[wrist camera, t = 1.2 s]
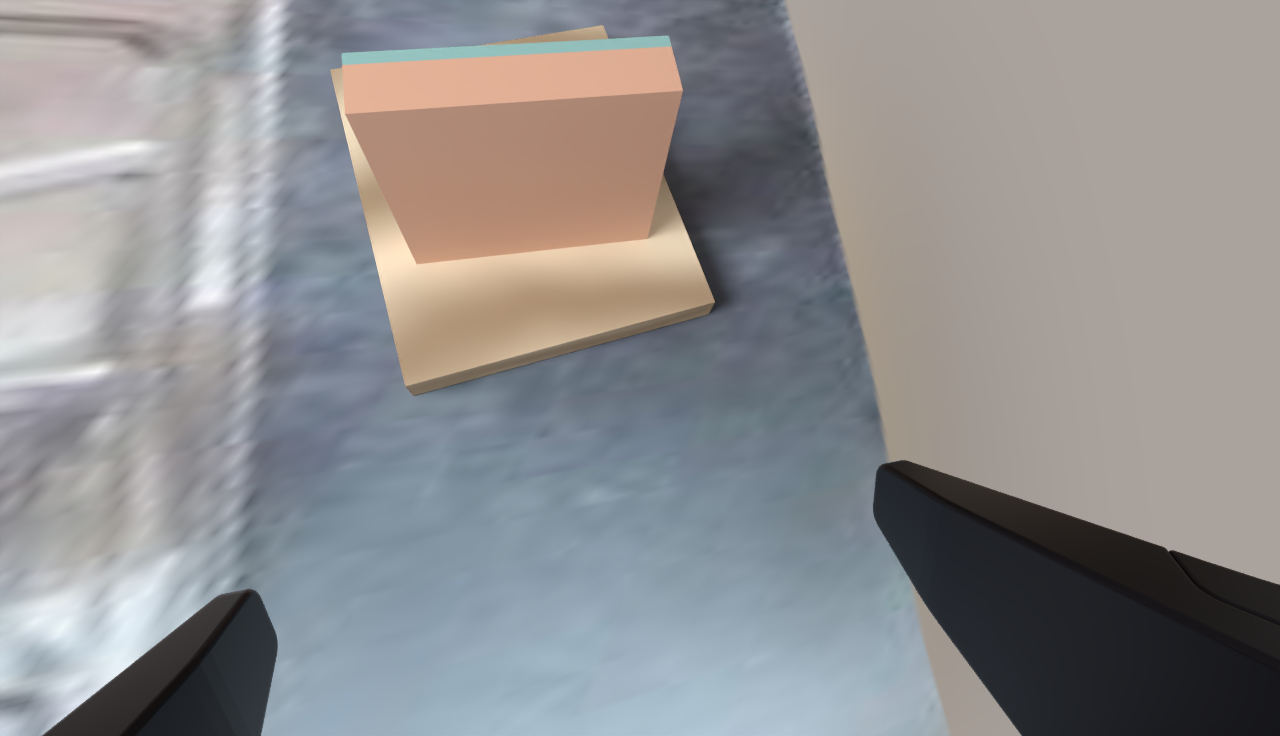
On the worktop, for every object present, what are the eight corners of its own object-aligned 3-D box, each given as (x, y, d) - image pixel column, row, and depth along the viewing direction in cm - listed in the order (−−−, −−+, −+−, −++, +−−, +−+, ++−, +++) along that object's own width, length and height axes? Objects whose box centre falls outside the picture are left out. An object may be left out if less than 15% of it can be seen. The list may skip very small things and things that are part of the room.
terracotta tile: (647, 239, 25) (683, 90, 17) (416, 264, 23) (345, 114, 16) (638, 196, 25) (668, 35, 18) (412, 218, 24) (341, 53, 16)
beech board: (708, 314, 25) (715, 301, 24) (413, 395, 23) (405, 386, 22) (601, 46, 29) (603, 25, 28) (340, 91, 27) (330, 69, 26)
